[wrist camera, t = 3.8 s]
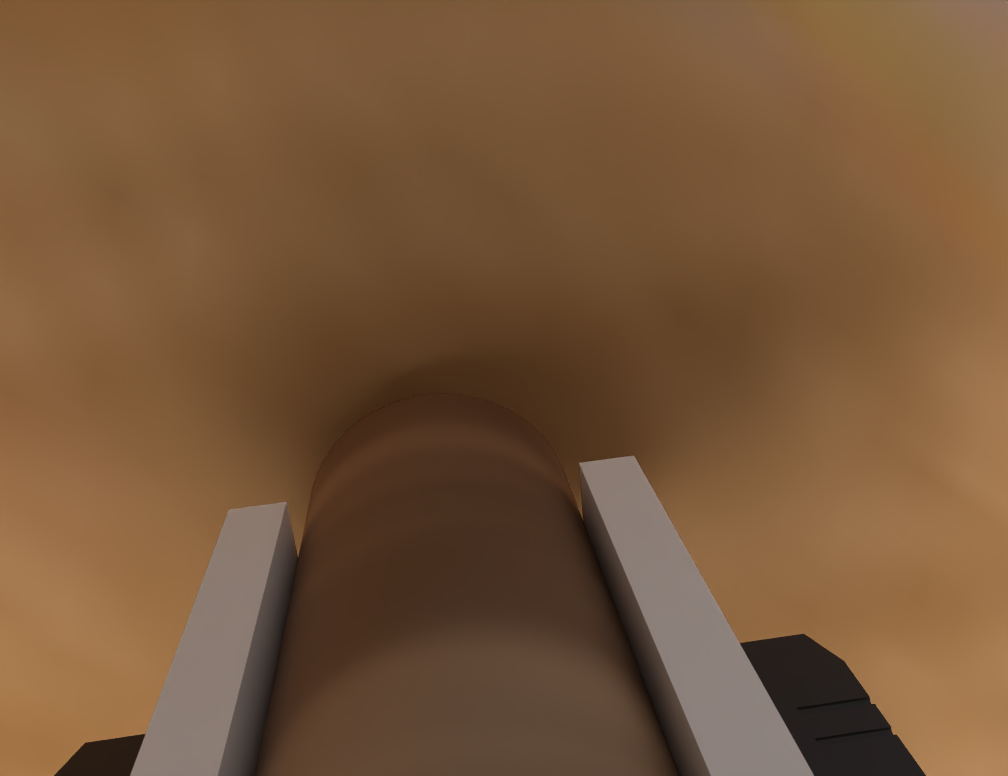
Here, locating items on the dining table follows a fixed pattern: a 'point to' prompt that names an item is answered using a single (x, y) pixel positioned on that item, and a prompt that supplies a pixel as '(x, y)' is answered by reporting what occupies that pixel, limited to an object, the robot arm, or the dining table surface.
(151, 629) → the dining table surface
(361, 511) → the peg
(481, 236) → the dining table surface
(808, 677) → the robot arm
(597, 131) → the dining table surface
